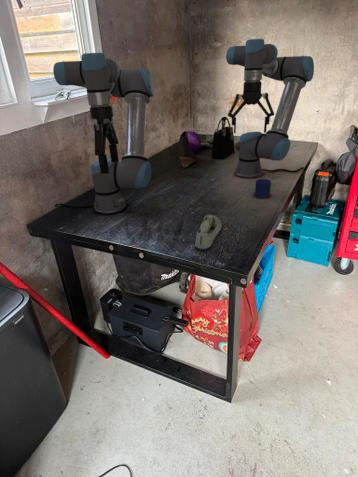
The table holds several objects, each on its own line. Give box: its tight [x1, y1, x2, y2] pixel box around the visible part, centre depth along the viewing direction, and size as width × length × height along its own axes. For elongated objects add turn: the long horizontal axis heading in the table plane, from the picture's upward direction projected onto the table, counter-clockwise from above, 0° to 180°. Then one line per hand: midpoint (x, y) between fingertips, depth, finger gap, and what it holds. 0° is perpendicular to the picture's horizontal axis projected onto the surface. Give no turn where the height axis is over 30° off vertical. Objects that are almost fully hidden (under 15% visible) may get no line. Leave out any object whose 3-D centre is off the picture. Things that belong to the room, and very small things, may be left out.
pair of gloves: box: [199, 134, 214, 149], centre depth 251 cm, size 30×26×5 cm
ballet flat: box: [194, 214, 223, 251], centre depth 128 cm, size 8×24×8 cm, turn 163°
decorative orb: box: [178, 130, 201, 154], centre depth 230 cm, size 15×15×15 cm
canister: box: [254, 178, 272, 199], centre depth 160 cm, size 7×7×7 cm
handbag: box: [211, 116, 236, 160], centre depth 219 cm, size 21×9×25 cm, turn 148°
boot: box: [178, 130, 197, 169], centre depth 209 cm, size 9×24×20 cm, turn 168°
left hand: (110, 167), depth 121 cm, fingers open, 13 cm apart
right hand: (249, 132), depth 151 cm, fingers open, 13 cm apart
